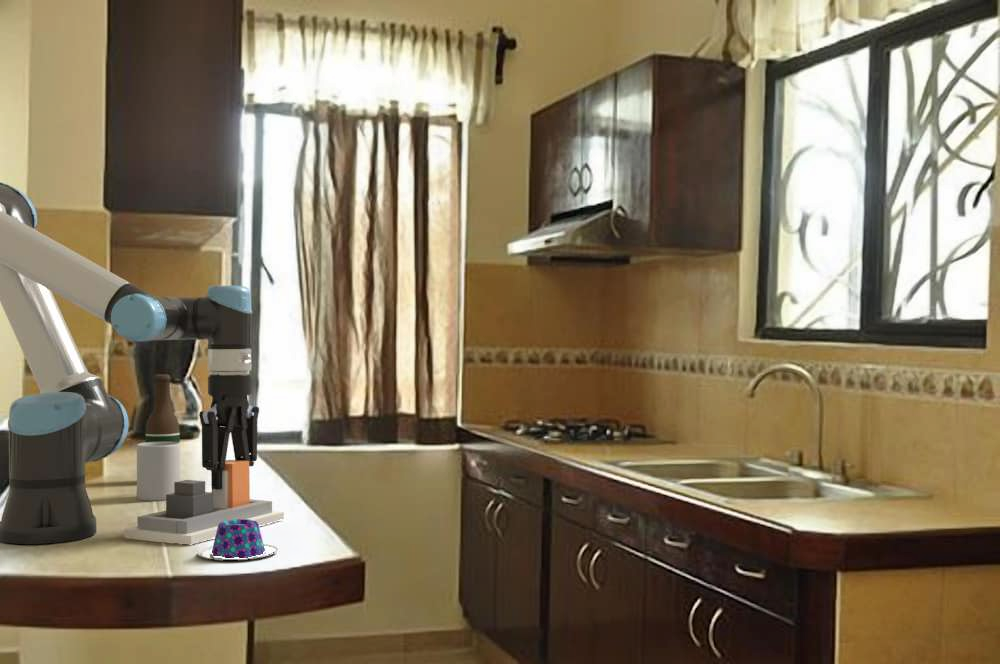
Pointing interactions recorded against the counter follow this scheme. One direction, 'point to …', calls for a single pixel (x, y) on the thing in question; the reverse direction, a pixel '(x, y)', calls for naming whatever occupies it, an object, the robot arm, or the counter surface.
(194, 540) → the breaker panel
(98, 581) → the counter surface
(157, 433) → the beer bottle
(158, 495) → the mug
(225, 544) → the pudding
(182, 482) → the handle
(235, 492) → the block
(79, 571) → the counter surface
